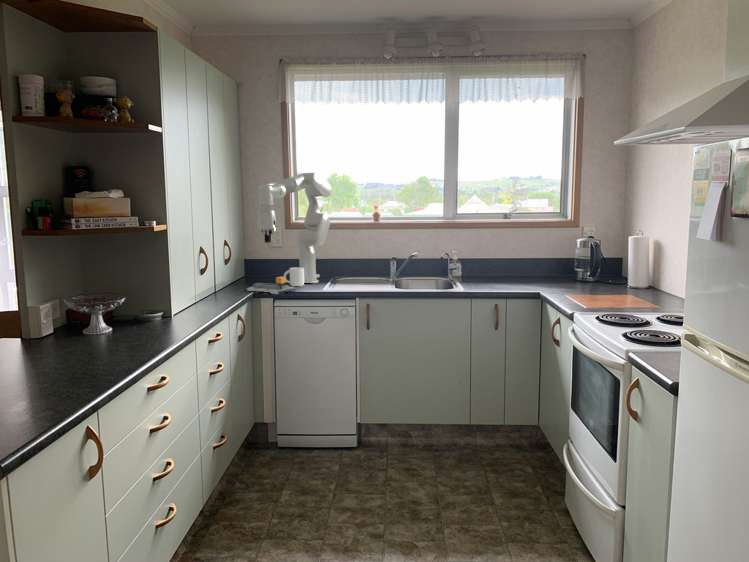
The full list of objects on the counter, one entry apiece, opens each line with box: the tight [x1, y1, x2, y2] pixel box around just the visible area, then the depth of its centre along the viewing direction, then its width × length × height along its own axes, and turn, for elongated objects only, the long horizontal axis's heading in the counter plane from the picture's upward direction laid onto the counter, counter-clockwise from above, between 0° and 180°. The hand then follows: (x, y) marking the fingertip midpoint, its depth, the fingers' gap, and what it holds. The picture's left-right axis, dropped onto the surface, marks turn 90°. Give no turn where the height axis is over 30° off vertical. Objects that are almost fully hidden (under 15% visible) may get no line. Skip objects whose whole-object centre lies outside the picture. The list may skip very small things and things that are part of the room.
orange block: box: [275, 276, 287, 286], centre depth 326 cm, size 4×4×6 cm
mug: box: [283, 266, 305, 287], centre depth 346 cm, size 12×8×10 cm
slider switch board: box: [246, 282, 295, 295], centre depth 330 cm, size 14×21×4 cm, turn 61°
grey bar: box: [279, 287, 297, 295], centre depth 324 cm, size 13×1×1 cm, turn 151°
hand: (267, 242), depth 327 cm, fingers closed
